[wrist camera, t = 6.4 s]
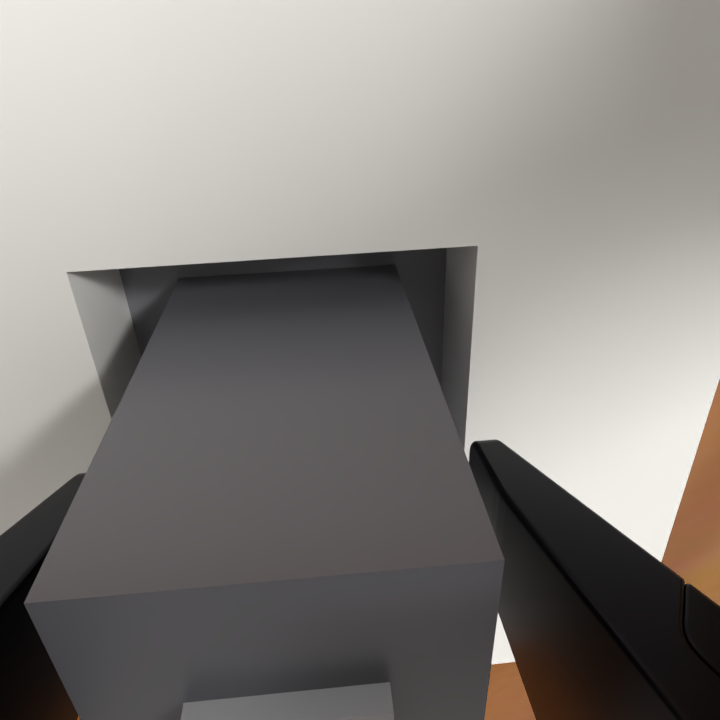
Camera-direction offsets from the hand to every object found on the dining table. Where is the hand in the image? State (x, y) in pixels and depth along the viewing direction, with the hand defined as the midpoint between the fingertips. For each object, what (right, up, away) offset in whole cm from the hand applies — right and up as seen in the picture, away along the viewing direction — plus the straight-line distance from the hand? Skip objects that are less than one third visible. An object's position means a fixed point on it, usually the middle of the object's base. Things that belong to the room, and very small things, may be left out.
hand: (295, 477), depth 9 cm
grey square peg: (0, +2, +3) cm, 4 cm away
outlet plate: (0, +2, +4) cm, 4 cm away
